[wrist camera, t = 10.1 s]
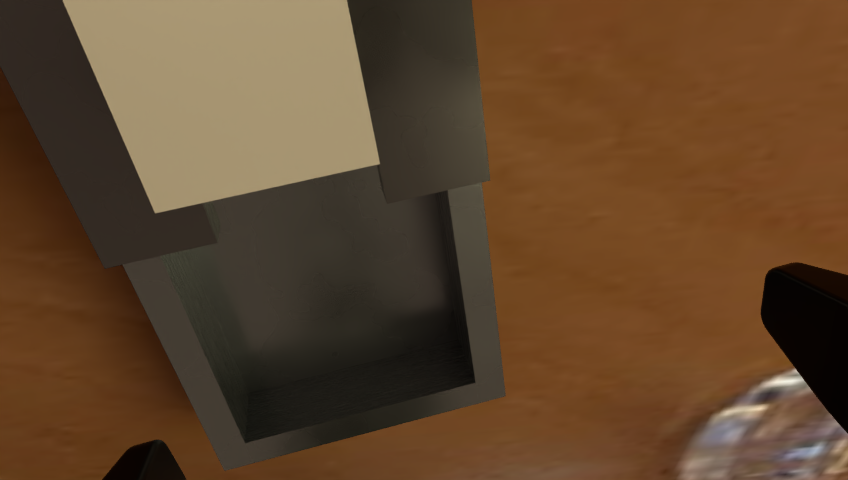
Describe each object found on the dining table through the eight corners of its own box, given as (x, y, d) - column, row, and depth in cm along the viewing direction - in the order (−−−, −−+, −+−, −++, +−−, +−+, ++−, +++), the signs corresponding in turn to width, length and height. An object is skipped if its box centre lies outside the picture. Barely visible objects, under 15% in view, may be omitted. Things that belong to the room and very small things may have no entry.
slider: (386, 95, 18) (440, 200, 11) (180, 138, 17) (119, 273, 11) (341, -144, 15) (383, -180, 8) (89, -102, 14) (-70, -106, 8)
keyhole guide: (494, 340, 24) (528, 412, 20) (218, 410, 23) (206, 499, 19) (428, -219, 15) (470, -255, 11) (-40, -143, 14) (-150, -158, 10)
